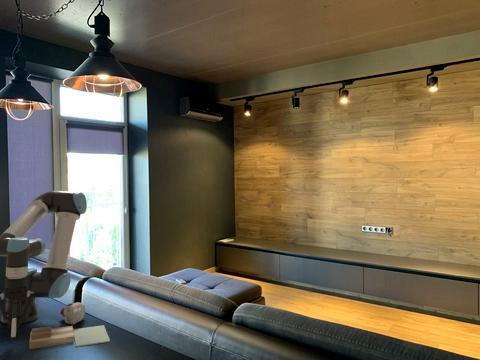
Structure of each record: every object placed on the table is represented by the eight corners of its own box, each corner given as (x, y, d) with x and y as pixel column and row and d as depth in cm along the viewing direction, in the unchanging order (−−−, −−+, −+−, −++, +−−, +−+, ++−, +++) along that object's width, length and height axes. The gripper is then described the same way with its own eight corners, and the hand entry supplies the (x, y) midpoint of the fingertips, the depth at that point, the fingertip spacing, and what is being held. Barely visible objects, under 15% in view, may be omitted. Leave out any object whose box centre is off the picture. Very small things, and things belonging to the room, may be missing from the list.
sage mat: (73, 330, 160) (73, 329, 160) (103, 326, 167) (103, 325, 167) (76, 347, 145) (76, 345, 145) (109, 341, 151) (109, 340, 151)
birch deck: (30, 337, 152) (30, 331, 152) (72, 331, 159) (72, 325, 159) (29, 349, 141) (29, 342, 141) (73, 342, 149) (74, 336, 149)
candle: (76, 326, 163) (51, 325, 168) (94, 318, 174) (70, 317, 179) (75, 306, 164) (50, 305, 169) (93, 299, 174) (69, 299, 179)
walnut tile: (31, 333, 150) (32, 328, 150) (50, 330, 153) (51, 326, 153) (31, 340, 144) (31, 335, 144) (51, 337, 147) (51, 332, 147)
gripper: (-4, 280, 138) (-8, 342, 137) (35, 277, 144) (31, 336, 143) (-2, 275, 144) (-5, 334, 144) (35, 273, 151) (32, 329, 150)
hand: (13, 335), depth 144 cm, fingers closed
